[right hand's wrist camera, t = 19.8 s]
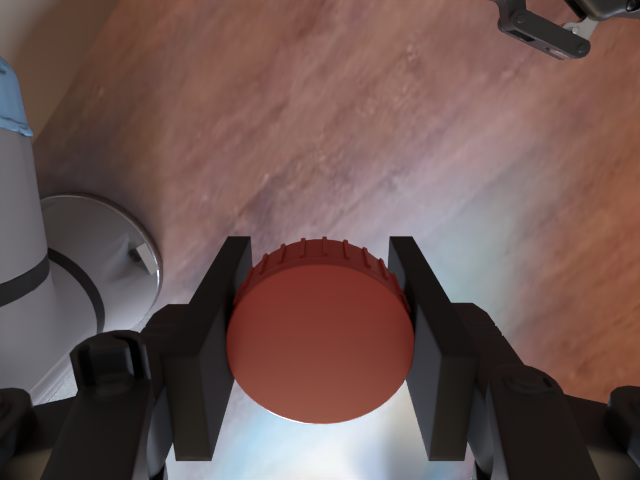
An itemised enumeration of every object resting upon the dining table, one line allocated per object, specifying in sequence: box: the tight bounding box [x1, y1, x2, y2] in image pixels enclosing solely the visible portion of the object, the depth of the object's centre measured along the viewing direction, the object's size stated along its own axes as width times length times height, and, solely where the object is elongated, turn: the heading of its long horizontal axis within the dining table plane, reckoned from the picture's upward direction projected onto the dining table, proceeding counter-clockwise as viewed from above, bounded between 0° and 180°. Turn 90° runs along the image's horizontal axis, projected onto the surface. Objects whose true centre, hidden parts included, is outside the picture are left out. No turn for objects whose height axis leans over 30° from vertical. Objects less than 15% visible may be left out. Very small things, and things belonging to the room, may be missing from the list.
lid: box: [226, 237, 415, 424], centre depth 11 cm, size 5×5×2 cm
